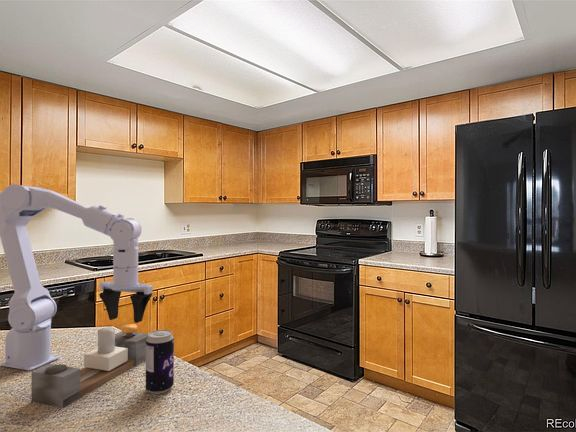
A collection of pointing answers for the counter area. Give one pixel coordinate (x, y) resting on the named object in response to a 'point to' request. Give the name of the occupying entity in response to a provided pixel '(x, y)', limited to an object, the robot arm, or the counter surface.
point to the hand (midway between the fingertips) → (125, 320)
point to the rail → (82, 375)
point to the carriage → (106, 352)
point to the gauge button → (129, 330)
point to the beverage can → (159, 361)
